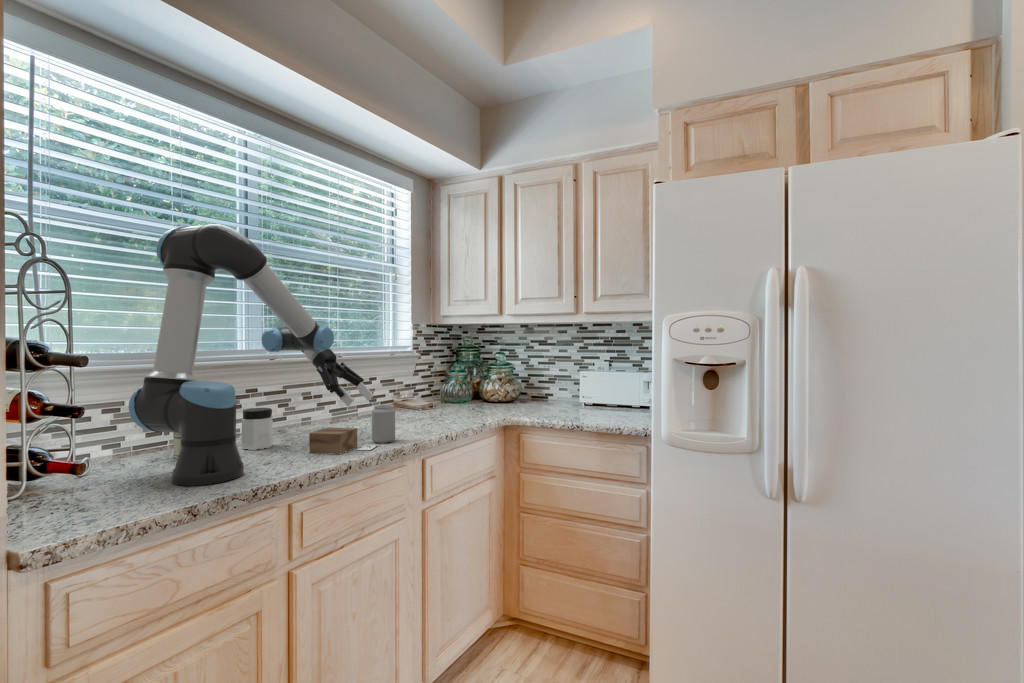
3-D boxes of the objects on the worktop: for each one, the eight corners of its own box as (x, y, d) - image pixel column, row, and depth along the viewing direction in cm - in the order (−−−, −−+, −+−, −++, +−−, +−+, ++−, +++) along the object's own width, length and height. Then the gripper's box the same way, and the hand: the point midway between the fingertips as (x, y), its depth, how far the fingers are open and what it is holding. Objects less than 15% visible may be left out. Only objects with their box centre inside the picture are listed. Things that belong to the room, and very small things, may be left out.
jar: (246, 451, 154) (245, 412, 154) (238, 447, 159) (237, 409, 159) (277, 447, 160) (276, 409, 160) (268, 443, 166) (267, 406, 166)
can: (399, 440, 171) (399, 404, 171) (388, 444, 163) (388, 407, 163) (378, 439, 172) (378, 403, 172) (367, 443, 165) (367, 406, 165)
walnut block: (339, 454, 149) (339, 434, 149) (309, 453, 151) (309, 432, 151) (357, 447, 159) (357, 428, 159) (328, 446, 161) (328, 427, 161)
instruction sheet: (370, 450, 154) (370, 450, 154) (354, 450, 154) (354, 449, 154) (379, 445, 162) (379, 444, 162) (364, 445, 162) (364, 444, 162)
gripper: (334, 361, 186) (371, 403, 183) (290, 365, 162) (333, 413, 159) (347, 347, 185) (385, 389, 182) (305, 348, 161) (349, 397, 158)
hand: (361, 400), depth 170 cm, fingers open, 13 cm apart
